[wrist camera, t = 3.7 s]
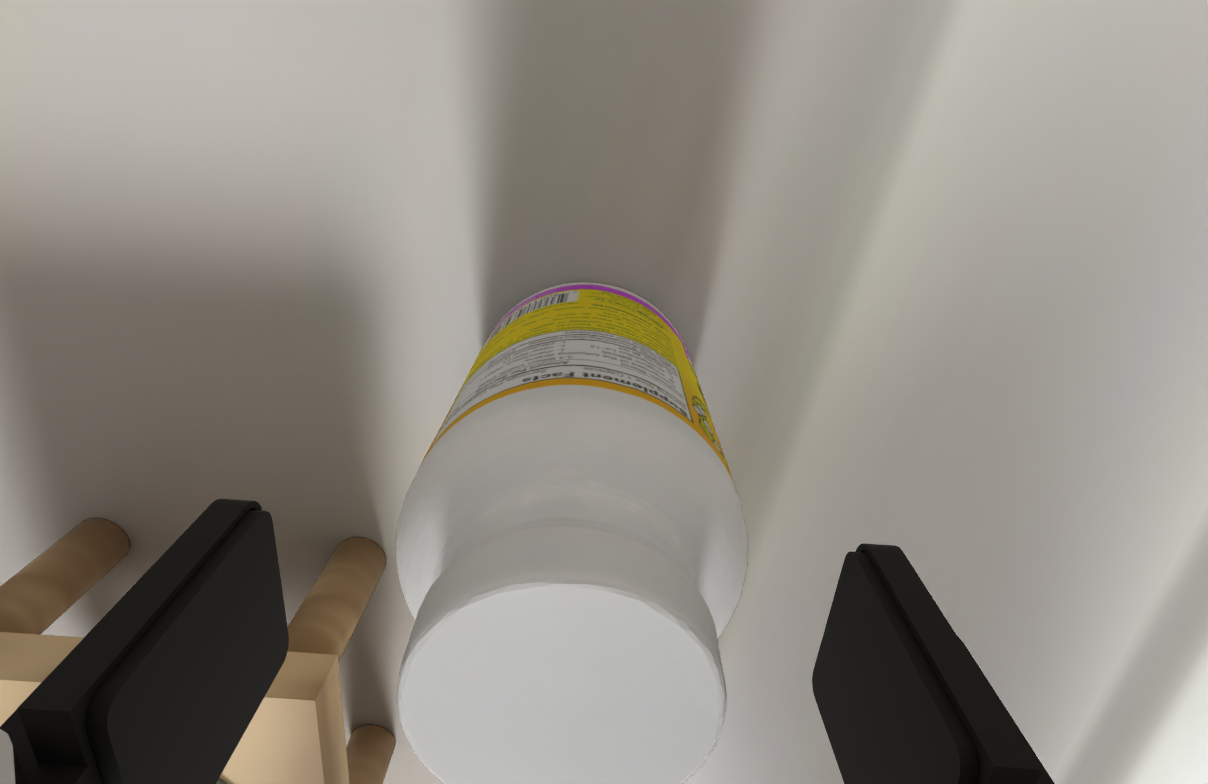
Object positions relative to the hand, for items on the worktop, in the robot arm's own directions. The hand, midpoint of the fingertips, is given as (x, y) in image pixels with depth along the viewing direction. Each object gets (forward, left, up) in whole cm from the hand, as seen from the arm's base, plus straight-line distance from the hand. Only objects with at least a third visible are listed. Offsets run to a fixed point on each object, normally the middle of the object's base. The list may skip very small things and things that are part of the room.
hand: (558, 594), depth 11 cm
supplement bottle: (0, +1, -11) cm, 11 cm away
